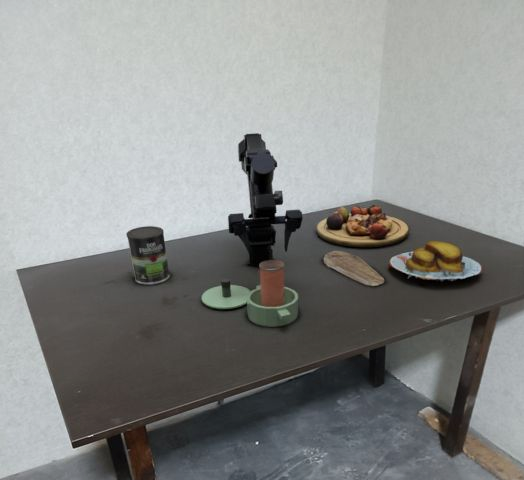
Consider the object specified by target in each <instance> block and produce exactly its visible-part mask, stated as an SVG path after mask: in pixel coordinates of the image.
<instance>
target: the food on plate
mask: <svg viewBox="0 0 524 480" xmlns="http://www.w3.org/2000/svg"><path fill="white" fill-rule="evenodd" d="M388 267H391V268H394V269H395V270H396V271H399V272H401V273H405V274H406V275H408V277H407V279H410V277H415V279H418V278H419V279H422V280H427V281H429V280H432V281H433V280H434V281H440V282H444V281H445V280H447V281H451V282H453V281H456V280H458V279H459V280H463V279H466V278H469V277H473V276H477V275H480V274H481V273H482V272H483V267H482V265H481V263H479V262H478V261H477V260H475V259H473V258H470V257H467V256H464V255H463V253H462V250H461V249H460V247H458V246H456V245H455V244H452V243H449V242H446V241H439V240H430V241H426V243H425V245H424V246H422V247H419V248H416V249H414V250H412V251H408V252H407V251H406V252H403V253H400V254H397V255H395V256H392V257H390V259H389V261H388Z"/></svg>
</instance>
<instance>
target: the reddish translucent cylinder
mask: <svg viewBox="0 0 524 480" xmlns="http://www.w3.org/2000/svg"><path fill="white" fill-rule="evenodd" d="M258 268H259V282H260V283H259V285H260V288H261V306H264V307H278V306H283V305H284V287H285V263H284V262H283V261H281V260H278V259H274V260H267V261H263V262H261V263H260V264H259V267H258Z"/></svg>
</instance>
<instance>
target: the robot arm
mask: <svg viewBox="0 0 524 480" xmlns="http://www.w3.org/2000/svg"><path fill="white" fill-rule="evenodd" d="M237 154H238V156H237V157H238V162H240V166H241V170H242V172H244V173H245V175H246V177H247V186H248V187H247V188H248V196H249V206H250V213H249V214H248V217H245V216H244V212H239V213H237V212H236V213H230V214H228V216H227V222H228V223H227V225H228V233H229V234H233V236H234V237H238V238H239V239H240V241H241V242H242V243H243V245H244V247H245V249H246V251H247V253H248V261H247V262H246V265H247V266H251V267H252V266H253V267H258V268H260V267H259V264H260V263H261V262H263V261H267V260H275V259H274V256H273V255H274V254H273V250H274V249H273V248H272V246H273V247H274V246H275V244H277V243H276V236H277V230H276V229H275V226H274V225H284V240H283V241H284V243H283V245H284V252H285V253H287V252H288V248H289V247H288V246H289V243H290V239H291V236H292V233H296V231H297V230H299V229H301V225H302V222H303V219H304V218H303V212H302V211H301V210H300V209H288V210H287V209H286V210H285V214H284V215H276V214H277V210H278V209H277V206H282V205H283V204H284V195H283V190H273V182H274V176H275V175H274V174H275V170H276V168H278V162H277V160H276V159H275V157H274V155H272V154H271V151H270V150H269V149H267V147H266V141H265V140H264V139H262V133H259V132H257V133H256V132H255V133H246V134H243V139H242V140H241V141H240V142H239V143H238V144H237Z"/></svg>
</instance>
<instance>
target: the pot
mask: <svg viewBox="0 0 524 480" xmlns="http://www.w3.org/2000/svg"><path fill="white" fill-rule="evenodd" d="M255 287H256V288H255V289H252V290H250V291H251V292H250V293H249V294H248V295H247V304H246V308H247V312H246V313H247V317H248V320H249V321H251V322H252V323H253V324H256V325H258V326H262V327H276V328H277V327H283V326H286V325H289V324H291V323H293V322H294V321H296V319H297V318H298V316H299V294H298V292H296V291H295V290H294V289H293V288H290V287H287V286H284V305H283V306H278V307H264V306H261V288H260V284H258V285H256V286H255Z"/></svg>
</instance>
